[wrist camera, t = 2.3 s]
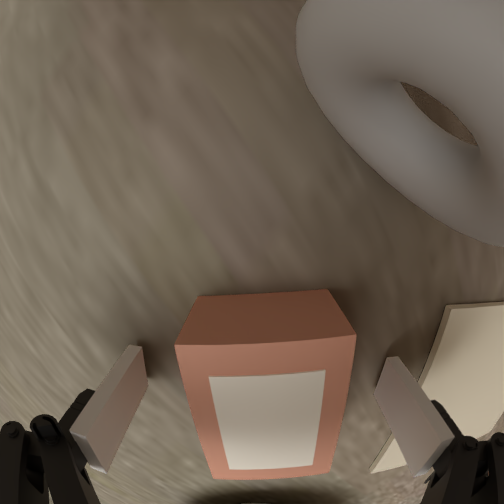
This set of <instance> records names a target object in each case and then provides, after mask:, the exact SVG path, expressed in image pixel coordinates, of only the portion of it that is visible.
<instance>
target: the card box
mask: <svg viewBox="0 0 504 504" xmlns="http://www.w3.org/2000/svg"><path fill="white" fill-rule="evenodd" d="M356 336H357V334H356V333H355V331H354V329H353V328H352V326H351V325H350V323H349V321H348V320H347V318H346V317H345V315H344V314H343V312H342V311H341V309H340V307H339V306H338V304H337V303H336V301H335V300H334V298H333V297H332V295H331V294H330V292H329V291H328V289H319V290H305V291H291V292H276V293H259V294H239V295H215V296H198V297H197V299H196V301H195V303H194V305H193V307H192V309H191V311H190V313H189V315H188V317H187V319H186V321H185V323H184V325H183V327H182V329H181V331H180V333H179V335H178V338H177V340H176V342H175V344H174V347H175V351H176V356H177V360H178V364H179V368H180V372H181V376H182V380H183V384H184V388H185V392H186V395H187V399H188V402H189V406H190V409H191V413H192V416H193V420H194V423H195V426H196V429H197V433H198V436H199V439H200V442H201V445H202V448H203V451H204V454H205V457H206V460H207V462H208V465H209V468H210V471H211V473H212V476H213V479H234V480H254V479H278V478H290V477H301V476H309V475H316V474H323V473H329V471H330V467H331V464H332V460H333V456H334V453H335V449H336V445H337V441H338V437H339V433H340V428H341V424H342V420H343V415H344V410H345V405H346V400H347V395H348V389H349V384H350V378H351V372H352V365H353V359H354V352H355V344H356Z"/></svg>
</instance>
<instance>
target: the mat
mask: <svg viewBox="0 0 504 504" xmlns="http://www.w3.org/2000/svg"><path fill="white" fill-rule="evenodd" d="M418 384H419V385H420V387H421V388H422V390H423V391H424V392H425V394H426V395H427V397H428V398H429V399H430V401H431V400H436V401H437V402H439V403H440V404H442V405H443V407H444V408H445V410H446V411H447V413H448V414H449V415H450V418H452V419H453V421H454V422H455V424H456V425H457V427H458V428H459V429H460V431H461V432H462V434H463V435H464V436H472V437H474V438H475V439H476V438H478V437H480V436H482V435H484V434H486V433H488V432H490V431H491V429H492V428H493V426H494V425H495V423H496V422H497V421H498V419H499V418H500V416H501V415H502V413H503V411H504V301H503V302H490V303H474V304H456V305H446V306H445V310H444V313H443V316H442V320H441V323H440V326H439V329H438V332H437V335H436V338H435V341H434V343H433V346H432V349H431V351H430V354H429V357H428V359H427V362H426V364H425V367H424V369H423V371H422V374H421V376H420V378H419V380H418ZM404 465H407V463H406V461H405V458H404V456H403V454H402V452H401V450H400V448H399V446H398V443H397V441H396V439H395V437H394V435H393V433H391V435H390V437H389V438H388V440H387V442H386V443H385V445H384V447H383V448H382V450H381V451H380V453H379V455H378V456H377V458H376V459H375V461H374V462H373V464H372V465H371V467H370V468H369V470H370V473H375V472H380V471H384V470H389V469H393V468H396V467H400V466H404Z"/></svg>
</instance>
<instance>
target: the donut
mask: <svg viewBox="0 0 504 504" xmlns="http://www.w3.org/2000/svg"><path fill="white" fill-rule="evenodd" d="M296 55H297V60H298V64H299V66H300V69H301V72H302V75H303V77H304V80H305V83H306V86H307V88H308V89H309V91H310V93H311V94H312V96H313V97H314V99H315V100H316V102H317V104H318V105H319V107H320V109H321V110H322V112H323V113H324V115H325V116H326V118H327V119H328V120H329V121H330V123H331V124H332V125H333V126H334V128H335V129H336V130H337V131H338V133H339V134H340V135H341V136H342V138H343V139H344V140H345V141H346V142H347V143H348V144H349V145H350V146H351V147H352V148H353V149H354V151H355V152H356V153H357V154H358V155H359V156H360V157H361V158H362V159H363V160H364V161H365V162H366V163H367V164H368V165H369V166H370V167H371V168H373V169H374V170H375V171H376V172H377V173H378V174H379V175H380V176H381V177H382V178H383V179H384V180H385V181H386V182H388V183H389V184H390V185H391V186H393V187H394V188H395V189H396V190H397V191H399V192H400V193H401V194H402V195H403V196H405V197H406V198H407V199H408V200H409V201H411V202H412V203H414V204H415V205H417V206H418V207H419V208H421V209H422V210H423V211H425V212H426V213H428V214H429V215H430V216H432V217H433V218H435V219H437V220H438V221H440V222H442V223H443V224H445V225H447V226H448V227H450V228H452V229H453V230H455V231H457V232H460V233H462V234H464V235H467V236H469V237H471V238H474V239H476V240H478V241H481V242H483V243H485V244H489V245H494V246H500V247H504V0H307V1H306V3H305V4H304V6H303V7H302V9H301V10H300V12H299V15H298V19H297V23H296ZM401 82H404V83H407V84H409V85H412V86H415V87H417V88H420V89H422V90H423V91H425V92H426V93H428V94H429V95H431V96H432V97H434V98H435V99H436V100H438V101H439V102H441V103H442V104H443V105H445V106H446V107H448V108H449V109H450V110H451V111H452V112H453V113H454V114H455V115H456V116H457V118H458V119H459V120H460V121H461V122H462V123H463V124H464V125H465V127H466V128H467V129H468V130H469V131H470V132H471V134H472V135H473V137H474V139H475V141H476V142H477V144H478V146H477V145H472V144H470V143H467V142H464V141H462V140H460V139H458V138H456V137H455V136H453V135H451V134H449V133H448V132H446V131H445V130H443V129H442V128H441V127H440V126H438V125H437V124H436V123H434V122H433V121H432V120H431V119H430V118H429V117H428V116H426V115H425V114H424V113H423V112H422V111H421V110H420V109H419V108H418V107H417V105H416V104H415V103H414V102H413V100H412V99H411V98H410V97H409V95H408V94H407V93H406V91H405V89H404V88H403V86H402V84H401Z"/></svg>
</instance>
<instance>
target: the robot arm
mask: <svg viewBox="0 0 504 504" xmlns="http://www.w3.org/2000/svg"><path fill="white" fill-rule="evenodd" d="M147 388H148V380H147V375H146V369H145V363H144V357H143V350H142V347H140V346H134V345H128V347H127V348H126V349H125V351H124V352H123V354H122V355H121V356H120V358H119V359H118V360H117V362H116V363H115V365H114V366H113V367H112V369H111V370H110V371H109V373H108V374H107V376H106V377H105V378H104V380H103V381H102V383H101V384H100V386H99V387H98V388H97V390H96V391H94V390H90V389H86V390H85V391H83V392H82V393H80V394H79V395H78V396H77V398H76V399H75V401H74V402H73V403H72V405H71V406H70V408H69V409H68V410H67V411H66V413H65V414H64V416H63V417H62V418H61V420H60V421H59V423H58V422H57V420H56V419H55V418H54V417H53V416H50V415H47V414H42V415H39V416H36V417H35V418H34V419H33V420H32V421H31V423H30V429H31V430H32V432H30V431H25V429H24V428H23V426H22V425H21V424H20V423H19V422H16V421H9V422H7V423H5V424H4V425H3V426H2V428H1V431H0V504H49V490H50V494H51V497H52V500H53V503H54V504H101V503H100V501H99V499H98V497H97V495H96V493H95V490H94V488H93V486H92V483H91V481H90V478H89V476H88V473H87V471H86V469H85V465H86V463H87V462H88V463H89V465H90V466H91V468H93V469H95V470H98V471H101V472H104V473H106V474H107V472H108V470H109V468H110V465H111V463H112V461H113V459H114V457H115V455H116V452H117V450H118V448H119V446H120V444H121V442H122V439H123V437H124V435H125V433H126V431H127V429H128V427H129V425H130V423H131V420H132V418H133V416H134V414H135V412H136V410H137V408H138V406H139V404H140V402H141V400H142V398H143V396H144V394H145V392H146V390H147ZM373 395H374V397H375V399H376V401H377V403H378V405H379V407H380V409H381V411H382V413H383V415H384V417H385V419H386V421H387V423H388V425H389V427H390V429H391V431H392V433H393V435H394V437H395V439H396V441H397V443H398V446H399V448H400V450H401V452H402V454H403V456H404V458H405V461H406V463H407V465H408V467H409V469H410V472H411V474H412V476H413V478H414V477H417V476H420V475H423V474H426V473H427V472H428V471H429V469H430V468H431V467H432V466H433V468H434V470H435V471H434V472H433V473H432V474H431V475H430V476H429V477H428V478H427V480H426V481H425V482H424V483H425V484H426V483H427V482H428V481H429V480H430V481H429V483H428V486H427V489H426V491H425V494H424V496H423V499H422V501H421V504H504V433H501V432H497V433H495V434H493V435H492V437H491V438H490V439H489V440H488V441H479V442H478V440H477V439H475V438H474V437H472V436H464V435H463V434H462V432H461V431H460V429H459V428H458V427H457V425H456V424H455V422H454V421H453V419H452V418H450V415H449V414H448V413H447V411H446V410H445V408H444V407H443V405H442V404H440V403H439V402H437V401H436V400H431V401H430V399H429V398H428V397H427V395H426V394H425V392H424V391H423V390H422V388H421V387H420V385H419V384H418V383H417V381H416V380H415V379H414V377H413V376H412V374H411V373H410V372H409V370H408V369H407V368H406V366H405V365H404V364H403V362H402V361H401V360H400V358H399V357H398V356H397V357H387V358H386V361H385V364H384V367H383V370H382V373H381V375H380V378H379V381H378V383H377V386H376V389H375V391H374V394H373ZM488 471H489V476H488ZM48 487H49V490H48Z"/></svg>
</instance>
